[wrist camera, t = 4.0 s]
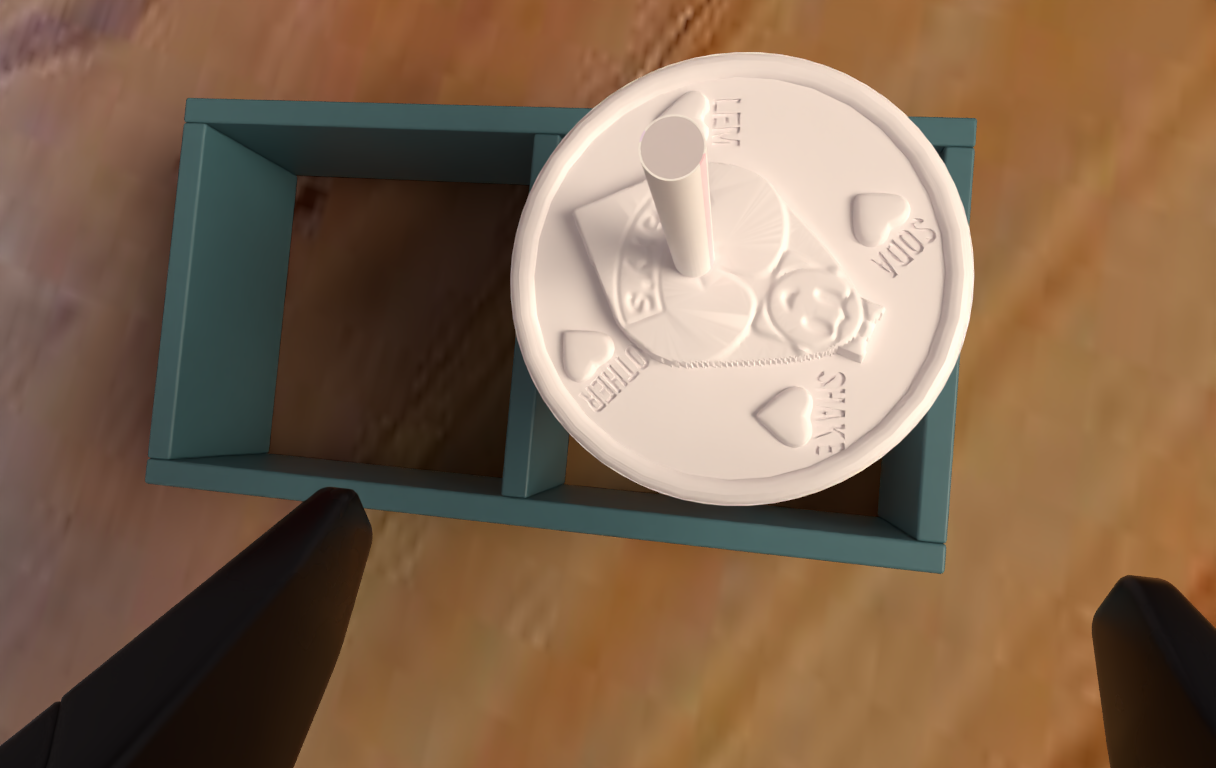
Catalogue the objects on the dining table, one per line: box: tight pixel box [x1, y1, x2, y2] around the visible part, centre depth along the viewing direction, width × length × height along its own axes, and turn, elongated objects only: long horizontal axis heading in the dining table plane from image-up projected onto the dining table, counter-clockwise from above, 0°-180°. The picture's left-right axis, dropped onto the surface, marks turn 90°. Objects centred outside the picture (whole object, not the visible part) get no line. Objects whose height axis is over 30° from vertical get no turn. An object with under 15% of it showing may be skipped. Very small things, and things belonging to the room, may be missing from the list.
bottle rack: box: [145, 98, 977, 574], centre depth 19 cm, size 9×18×4 cm, turn 85°
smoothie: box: [510, 52, 974, 506], centre depth 13 cm, size 6×6×14 cm
